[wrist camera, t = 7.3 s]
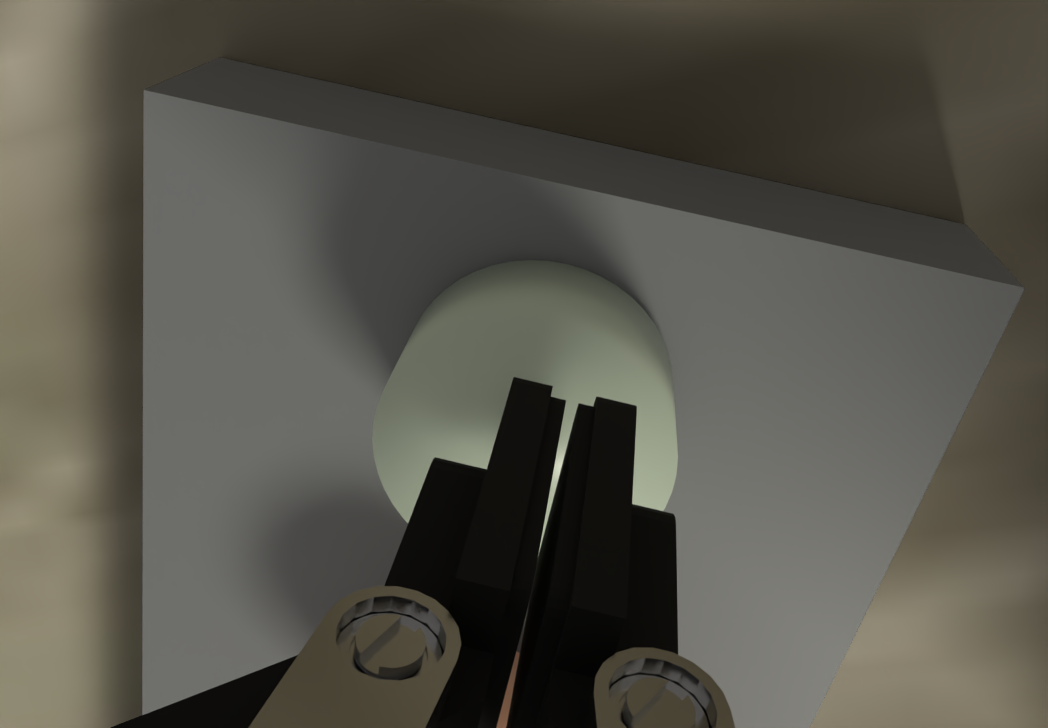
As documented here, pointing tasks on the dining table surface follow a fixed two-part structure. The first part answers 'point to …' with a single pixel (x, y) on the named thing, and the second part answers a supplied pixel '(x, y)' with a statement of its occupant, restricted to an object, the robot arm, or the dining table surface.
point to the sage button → (523, 374)
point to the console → (498, 237)
